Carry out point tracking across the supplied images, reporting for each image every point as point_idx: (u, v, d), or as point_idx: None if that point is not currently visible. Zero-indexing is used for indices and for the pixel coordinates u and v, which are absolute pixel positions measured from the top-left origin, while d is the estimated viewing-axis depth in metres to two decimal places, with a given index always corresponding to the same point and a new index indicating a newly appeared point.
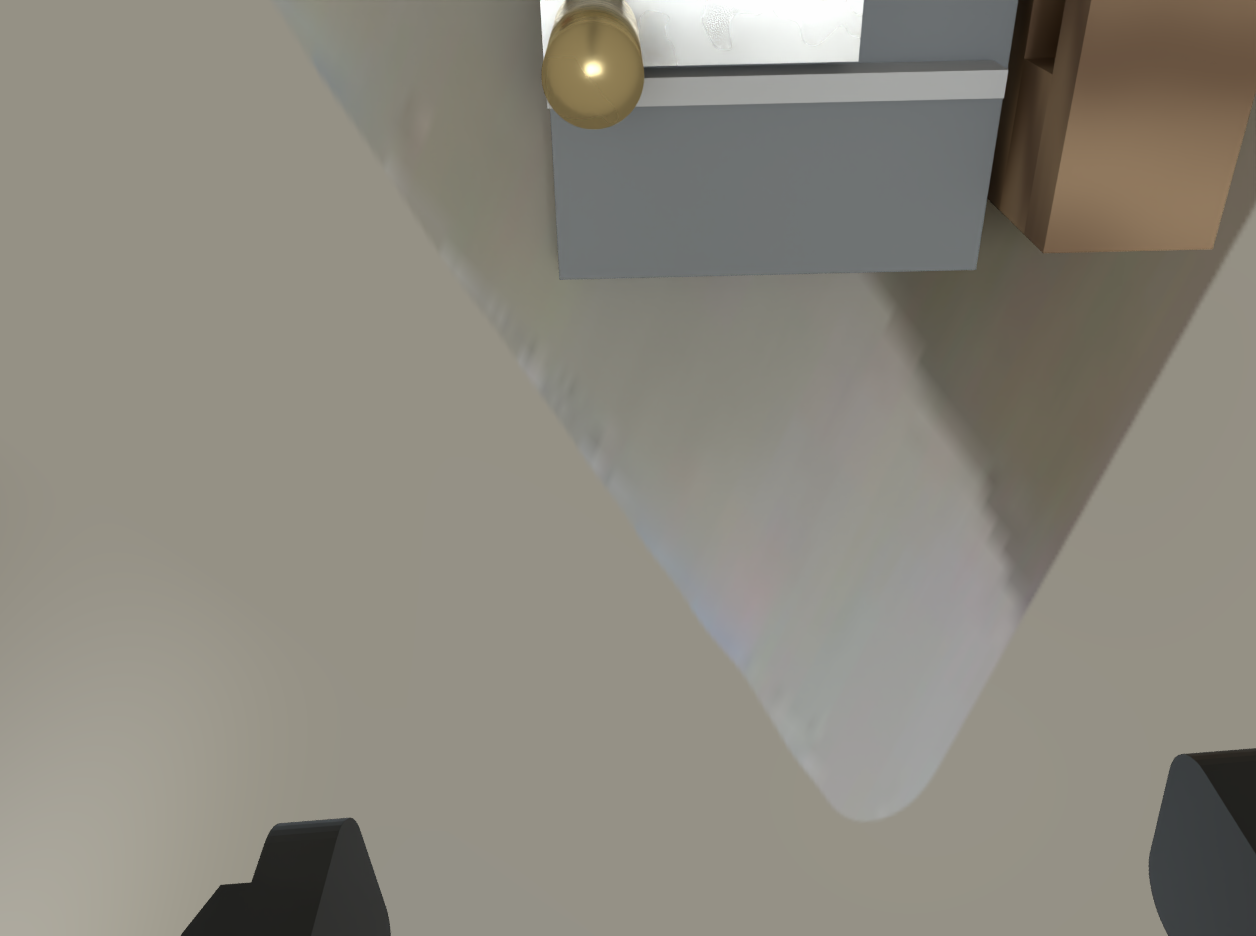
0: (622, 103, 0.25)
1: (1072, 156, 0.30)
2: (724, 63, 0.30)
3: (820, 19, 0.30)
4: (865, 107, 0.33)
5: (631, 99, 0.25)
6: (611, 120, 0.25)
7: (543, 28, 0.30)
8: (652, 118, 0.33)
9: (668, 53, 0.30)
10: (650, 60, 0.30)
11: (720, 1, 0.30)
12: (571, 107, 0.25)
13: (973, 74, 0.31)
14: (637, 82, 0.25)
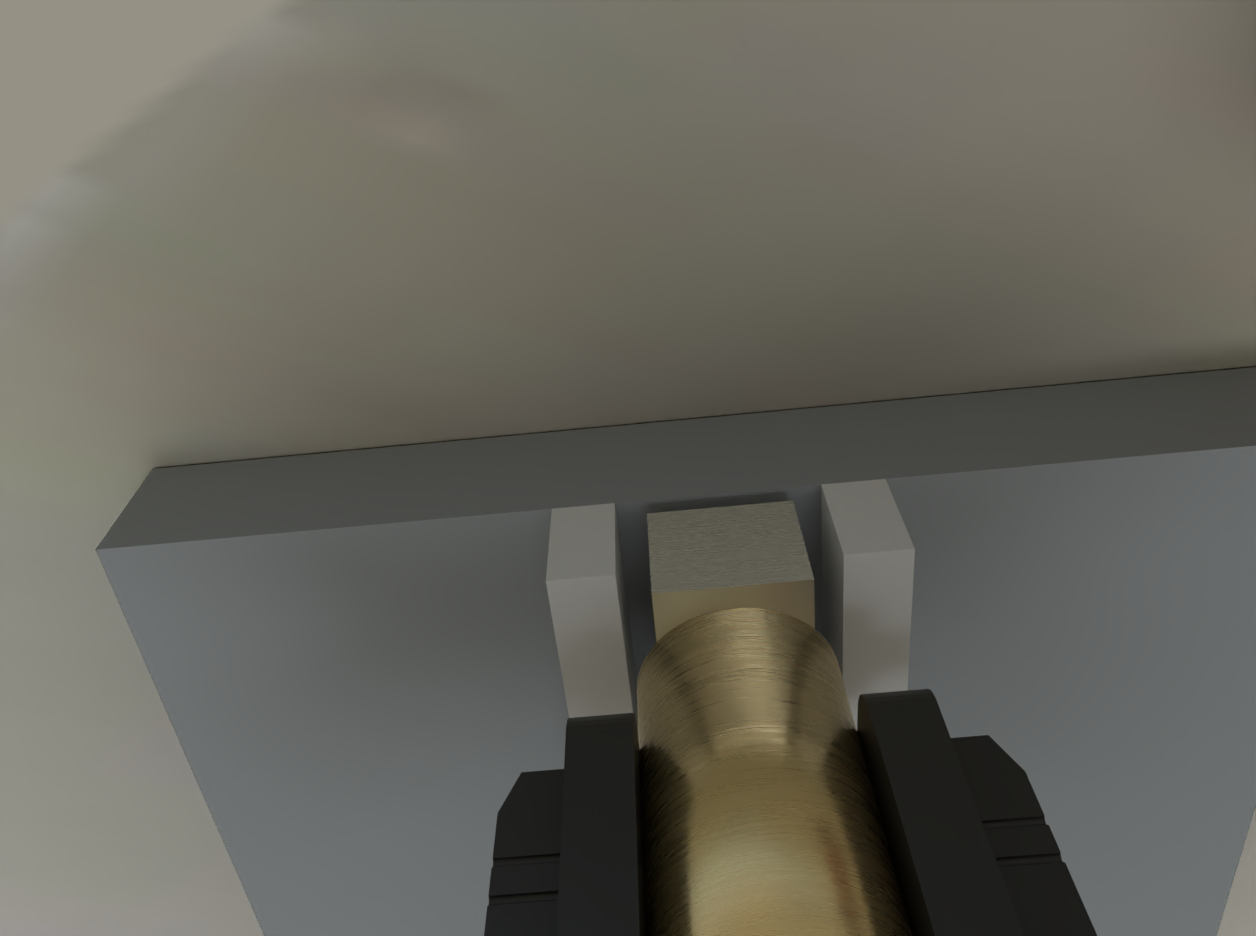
0: None
1: None
2: None
3: None
4: None
5: None
6: None
7: (748, 589, 0.12)
8: (532, 697, 0.15)
9: None
10: None
11: None
12: None
13: None
14: None
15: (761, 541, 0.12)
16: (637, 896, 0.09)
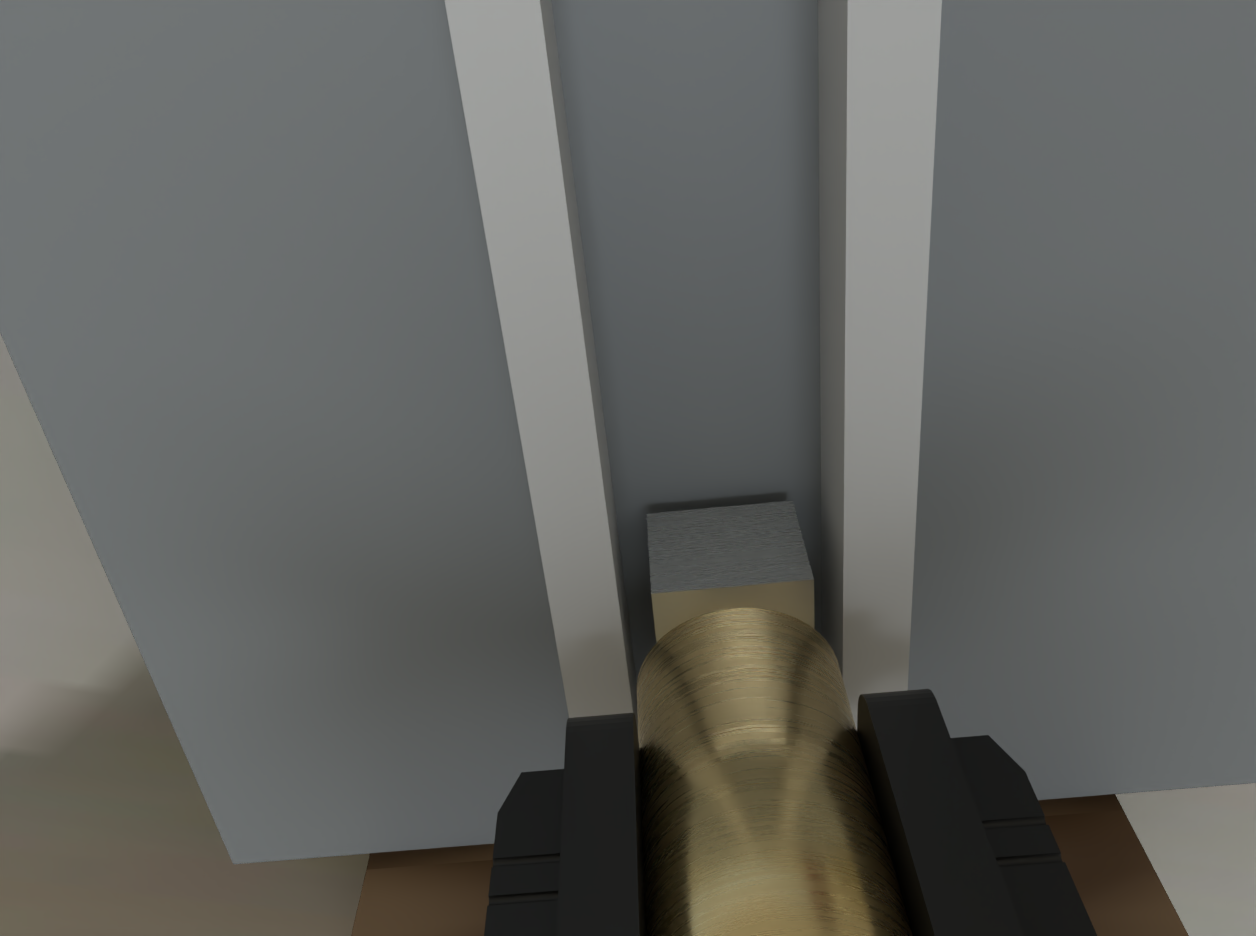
0: None
1: None
2: None
3: None
4: (532, 627, 0.14)
5: None
6: None
7: (748, 589, 0.12)
8: (423, 136, 0.11)
9: None
10: None
11: None
12: None
13: None
14: None
15: (761, 541, 0.12)
16: (637, 896, 0.09)
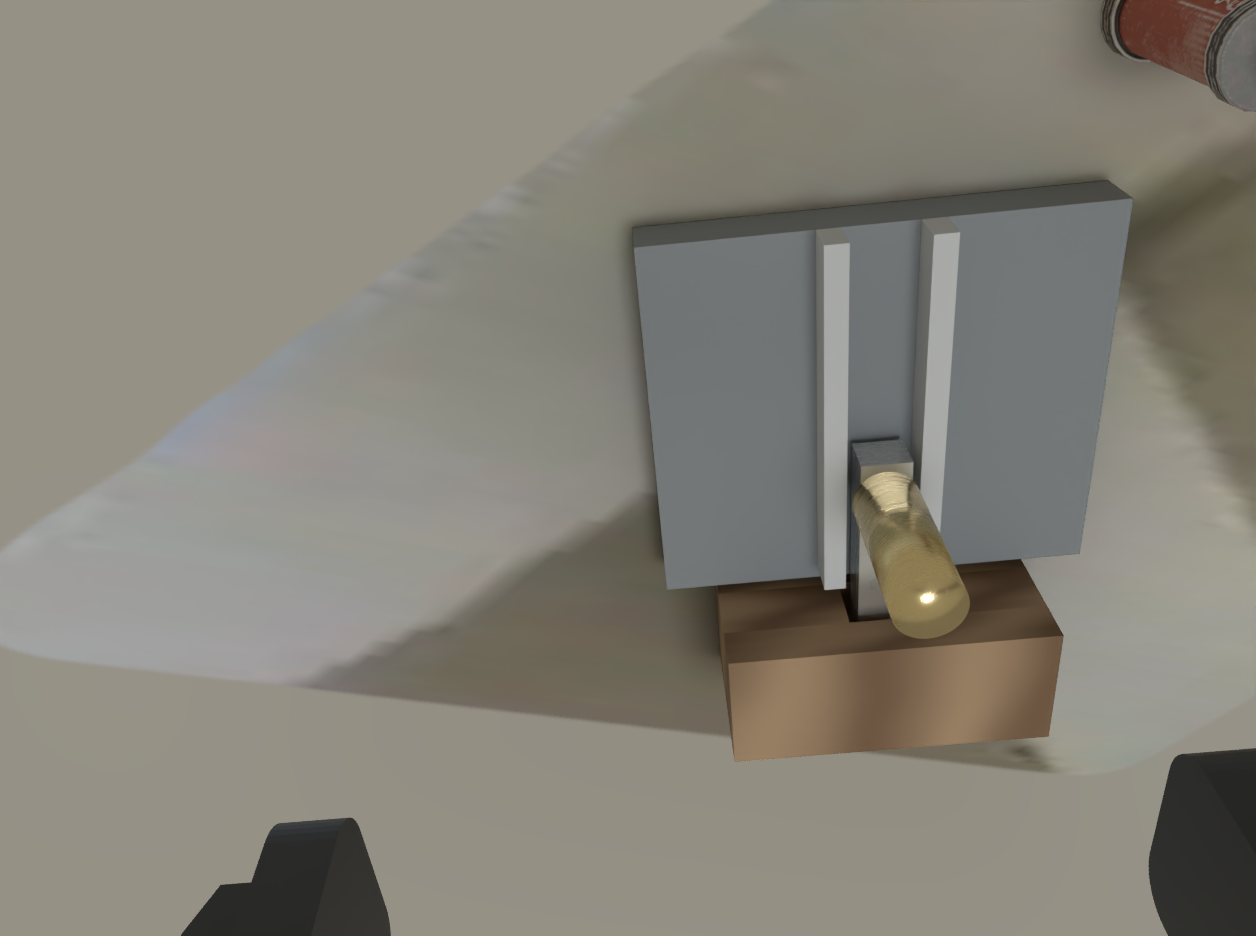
0: (909, 627, 0.33)
1: (806, 663, 0.39)
2: (859, 585, 0.39)
3: None
4: (803, 486, 0.39)
5: (911, 631, 0.33)
6: (896, 621, 0.33)
7: (892, 465, 0.37)
8: (795, 322, 0.36)
9: None
10: None
11: None
12: (908, 596, 0.32)
13: (843, 566, 0.40)
14: (923, 634, 0.33)
15: (894, 451, 0.37)
16: None
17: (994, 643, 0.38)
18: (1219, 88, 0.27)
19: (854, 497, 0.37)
